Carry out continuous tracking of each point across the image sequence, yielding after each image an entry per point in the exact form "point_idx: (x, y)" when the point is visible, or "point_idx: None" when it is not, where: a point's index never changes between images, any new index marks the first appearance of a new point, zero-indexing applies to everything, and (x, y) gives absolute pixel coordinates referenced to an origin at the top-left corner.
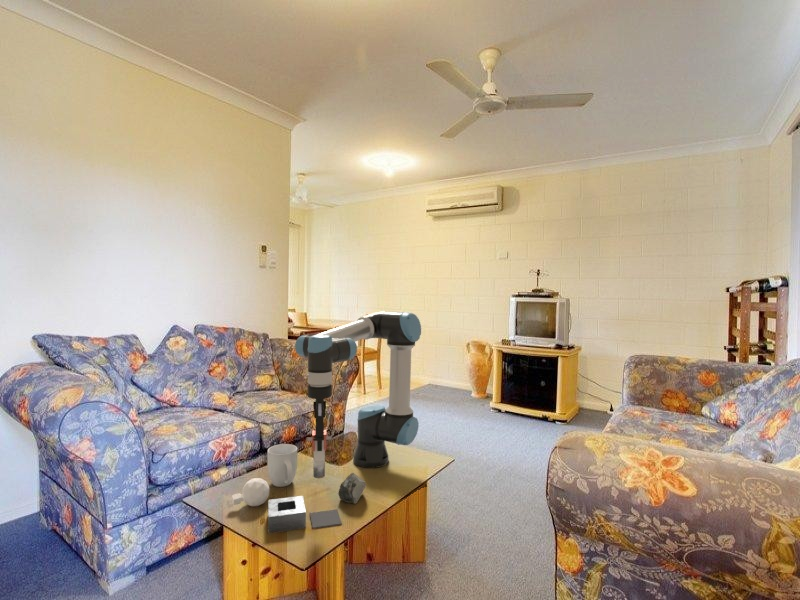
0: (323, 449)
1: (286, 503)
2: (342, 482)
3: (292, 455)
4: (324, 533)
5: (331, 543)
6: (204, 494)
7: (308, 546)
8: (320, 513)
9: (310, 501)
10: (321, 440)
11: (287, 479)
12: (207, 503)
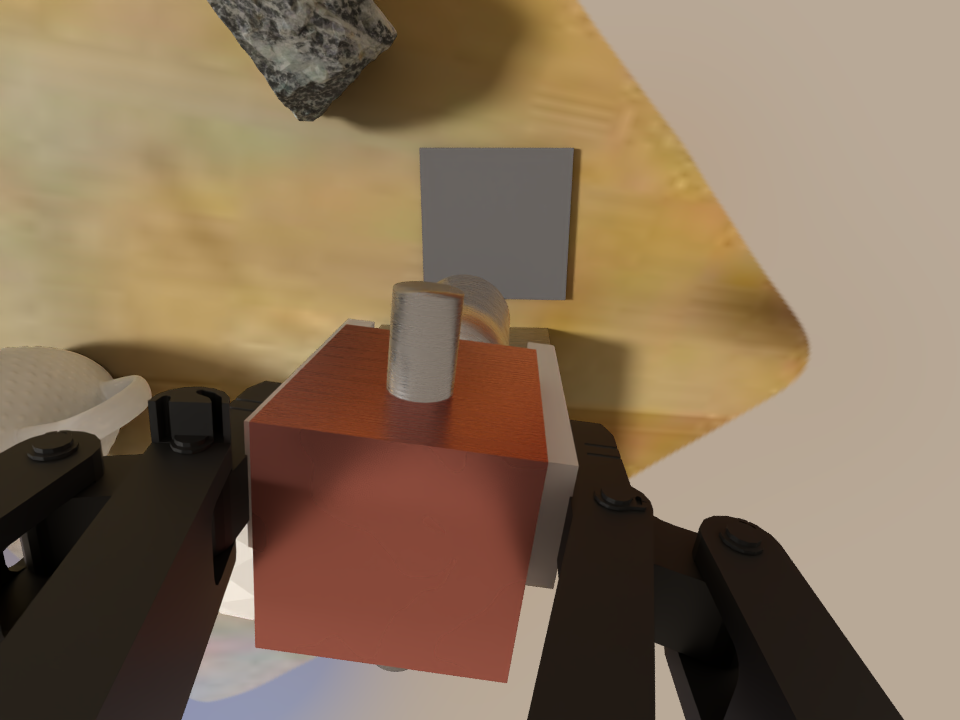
0: (561, 399)
1: None
2: (271, 84)
3: None
4: (623, 249)
5: (720, 228)
6: None
7: (700, 332)
8: (442, 245)
9: (295, 277)
10: (663, 529)
11: (103, 392)
12: (249, 662)
